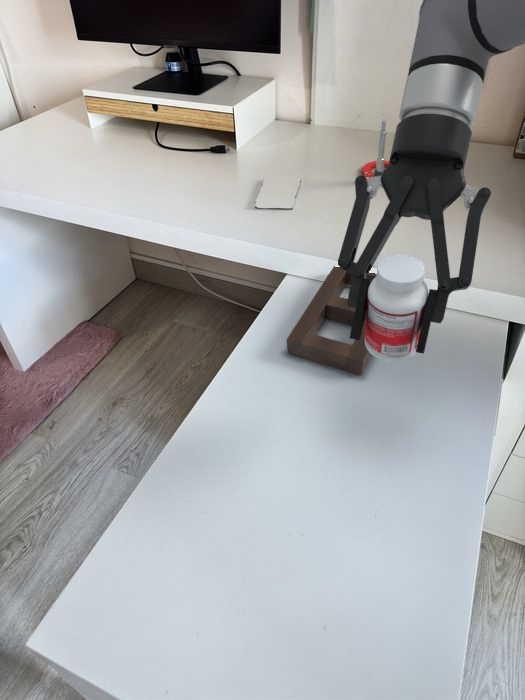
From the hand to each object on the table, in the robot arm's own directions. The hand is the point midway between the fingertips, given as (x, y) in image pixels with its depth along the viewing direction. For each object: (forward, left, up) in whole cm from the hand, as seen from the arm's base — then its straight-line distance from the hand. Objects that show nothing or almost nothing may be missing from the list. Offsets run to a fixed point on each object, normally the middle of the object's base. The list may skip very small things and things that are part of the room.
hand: (386, 345), depth 53 cm
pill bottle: (0, -4, -4) cm, 5 cm away
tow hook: (+21, -66, -17) cm, 72 cm away
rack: (+11, -19, -16) cm, 28 cm away
